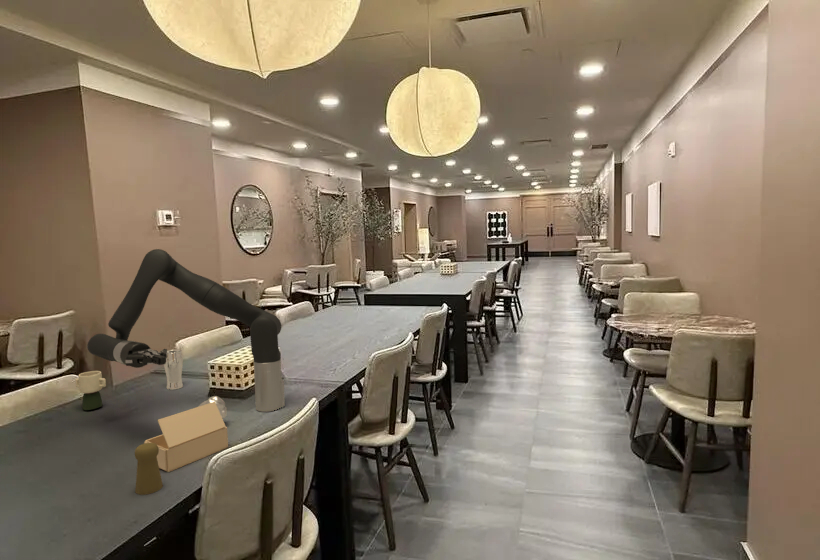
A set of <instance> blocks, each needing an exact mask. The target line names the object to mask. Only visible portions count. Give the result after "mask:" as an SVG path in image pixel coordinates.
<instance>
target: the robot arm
mask: <svg viewBox="0 0 820 560" xmlns="http://www.w3.org/2000/svg"><path fill="white" fill-rule="evenodd" d="M158 281H161V282H163V283H166V284H168V285H170V286H172V287H174V288H176V289H178V290H179V291H181V292H182V293H184V294H185V295H186V296H188V297H189V298H190V299H192V300H193V301H195V302H196V303H197V304H199V305H201V306H202V307H204V308H206V309H208V310H209V311H211V312H213V313H215V314H217V315H220V316H223V317H227V318H230V319H232V320H236V321H239V322H240V323H243V324H244V325H246V326H247V327H249V329H250V331H249V334H250V346H251V347H250V349H251V355H252V357H253V373H254V374H253V375H254V390H255V391H254V393H255V394H254V395H255V398H254V399H255V410H256V411H258V412H263V413H266V412H274V410H275V411H278V410H280V409H282V408H284V407H283V406H285V407H286V405H285V404H286V401H285V398H286V397H285V381H284V380H283V379H282V378H283V377H282V357H281V350H280V349H279V336H278V335H279V334H280V333H281V331H282V323H281V320H280V318H279V317H277V316H276V315H275V314H273V313H270V312H269V311H266V310H264V309H262V308H260V307H258V306H255V305H254V304H252V303H250V302H248V301H247V300H245V299H244V298H242V297H241V296H239V295H238V294H236V293H234V292H233V291H231V290H230V289H228V288H227V287H225V286H223V285H222V284H220V283H218V282H217V281H214V280H212V279H210V278H207V277H205V276H202V275H199V274H196V273H195V272H192V271H191V270H189V269H187V268H186V267H185V266H183V265H182V264H180V263H179V262H177V260H175V259H174V258H173V256H171V255H170V254H169V253H168V252H167V251H166V250H164V249H161V248H159V249H157V248H156V249H152V250H150V251H149V252H147V253H146V254H145V255H144V257H143V259H142V261H141V263H140V266H139V269H138V270H137V274H136V275H135V277H134V279H133V281H132V283H131V286H130V287H129V288H128V291H127V292H126V295H125V296H124V298H123V299H122V300H121V303H120V304H119V306H118V307H117V309H116V310H115V312H114V313H113V315H112V316H111V318H110V320H109V321H108V324H107V325H108V327H109V328H110V329H112V330H113V331H114V332H115V333H116V334H115V337H113V336H111V335H108V334H105V333H98V334H95V335H93V336H91V337H90V338H89V339H88V342H87V346H86V347H87V350H88V352H89V353H90V354H91V355H93V356H96V357H98V358H101V359H104V360H107V361H109V362H117V363H120V364H121V365H124V366H126V367H130V368H137V369H138V368H143V367H145V366H148V365H158V366H164V364H166V358H167V351H168V349H167V348H164V349H160V351H158V350H155V349H154V350H153V349H152V348H151V347H150V345H148V344H147V343H144V342H140V341H139V342H138V341H134V340H129V337H130V334H131V331H132V329H133V328H134V326H135V325H136V323H137V321H138V320H139V318H140V317H141V315H142V312H143V310H144V309H145V306H146V303H147V301H148V298H149V295H150V293H151V291H152V289H153V287H154V286H155V285H156V283H157V282H158ZM281 407H282V408H281ZM279 408H280V409H279ZM277 409H278V410H277Z"/></svg>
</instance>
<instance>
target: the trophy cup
mask: <svg viewBox="0 0 820 560" xmlns="http://www.w3.org/2000/svg"><path fill="white" fill-rule="evenodd" d="M77 377H78V378H75V387H76V388H79V389H78V390H79V393H81V394H83V396H82V401H81V402H82V403H81V404H82V408H81V409H82V410H84V411H90V410H95V409H98V408H101V407H103V406H104V405H103V401H102V396H101V395H102V394H101V393H100V390H102V389H103V388H106V386H107V379H106V378H104V377H103V375H102V371H100V370H91V371H85V372H81V373H79V374H78V376H77Z"/></svg>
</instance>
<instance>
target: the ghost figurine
mask: <svg viewBox="0 0 820 560" xmlns="http://www.w3.org/2000/svg"><path fill="white" fill-rule="evenodd" d="M212 402H215V403H216V405H217V408H218V410H219V412H220V415H221V417H222V419H223V420H224V419H225V418H226V417H227V415H228V413H227V412H228V408H227V407H226V402H225V401H224V399H222V398H221V397H220V396H217V395H213V396H211V397H209V398H208V399H207V400H204V401H202V402H201V403H200V404H199V405H198V407H199V406H202V405H205V404H209V403H212Z"/></svg>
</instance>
